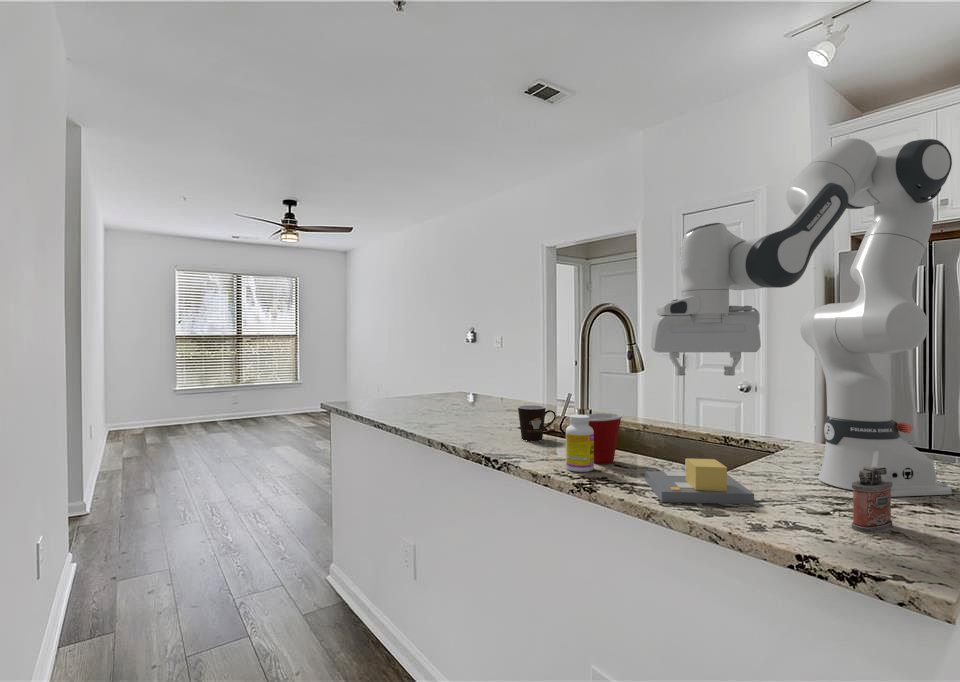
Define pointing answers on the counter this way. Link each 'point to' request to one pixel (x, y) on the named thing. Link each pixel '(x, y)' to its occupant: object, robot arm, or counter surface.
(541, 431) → the coffee mug
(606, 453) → the plastic cup
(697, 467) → the yellow block
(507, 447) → the counter surface
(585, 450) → the supplement bottle
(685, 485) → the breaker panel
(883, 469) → the lighter
